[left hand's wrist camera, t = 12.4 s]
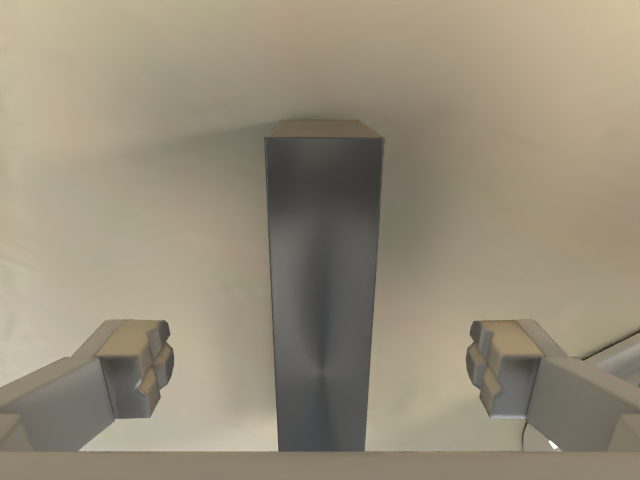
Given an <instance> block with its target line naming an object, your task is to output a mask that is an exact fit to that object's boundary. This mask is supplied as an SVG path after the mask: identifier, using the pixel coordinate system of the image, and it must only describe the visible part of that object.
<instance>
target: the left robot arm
mask: <svg viewBox="0 0 640 480" xmlns="http://www.w3.org/2000/svg"><path fill="white" fill-rule="evenodd" d="M169 336H170V331H169V326H168V323H167V322H166V321H165V320H126V319H120V320H106V321H104V322H103V323H102V324H101V325H100V327H99V328H98V329H97V330H96V331H95V332H94V333H93V334H92V335H91V336H90V337H89V338H88V339H87V340H86V341H85V343H84V344H83V345H82V346H81V347H80V348H79V349H78V350H77V351H76V352H75V353H74V354H73V355H72V356H71V357H64V358H62V359H60V360H58V361H55V362H53V363H51V364H49V365H47V366H45V367H43V368H41V369H39V370H36V371H34V372H32V373H30V374H28V375H26V376H24V377H22V378H20V379H17V380H15V381H13V382H11V383H9V384H7V385H5V386H3V387H1V388H0V480H640V333H638V334H635V335H633V336H631V337H629V338H627V339H625V340H623V341H621V342H619V343H617V344H615V345H613V346H611V347H609V348H607V349H605V350H603V351H601V352H599V353H597V354H595V355H593V356H591V357H589V358H587V359H585V360H583V361H582V360H580V359H578V358H576V357H569V356H568V355H567V354H566V353H565V352H564V351H563V350H562V349H561V348H560V347H559V346H558V345H557V344H556V342H555V341H554V340H553V339H552V338H551V337H550V336H549V335H548V334H547V333H546V332H545V331H544V330H543V329H542V328H541V326H540V325H539V324H538V323H537V322H536V321H534V320H531V319H524V320H496V321H474V322H473V324H472V326H471V330H470V336H471V337H472V339H473V341H474V342H473V343H472V344H471V345H470V346H469V347H468V348H467V355H466V365H467V372H468V375H469V378H470V380H471V382H472V384H473V385H474V386H476V387H477V388H479V389H480V390H481V391H480V397H479V398H480V399H481V401H482V403H483V405H484V407H485V409H486V411H487V413H488V415H489V417H490V418H514V419H525V421H526V422H528V424H527V426H526V428H525V431H524V436H523V450H524V452H77V451H78V450H79V449H81V448H82V447H83V446H84V445H85V444H87V443H88V442H89V441H90V440H92V439H93V438H94V437H95V436H97V435H98V434H99V433H100V432H101V431H103V430H104V429H105V428H106V427H108V426H109V425H110V424H111V423H112V422H114V421H115V419H125V418H150V417H151V415H152V413H153V411H154V409H155V407H156V405H157V403H158V401H159V399H160V398H161V397H160V391H159V390H160V389H161V388H163V387H164V386H166V385H167V384H168V382H169V380H170V378H171V375H172V371H173V366H174V354H173V348H172V347H171V346H170V345H169V344H168V343H167V342H166V341H167V339H168V337H169Z"/></svg>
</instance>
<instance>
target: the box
mask: <svg viewBox="0 0 640 480" xmlns="http://www.w3.org/2000/svg"><path fill="white" fill-rule="evenodd" d="M384 140H385V139H384V137H382V136H381V135H379V134H378V133H376V132H375V131H373V130H372V129H371V128H369V127H368V126H366V125H365V124H363V123H362V122H360V121H359V120H282V121H281V122H280V123H279V124H278V125H277V126H276V127H275V128H274V129H273V130H272V131H271V132H270V133H269V134H268V135H267V136H266V137H265V138H264V142H265V164H266V186H267V208H268V230H269V252H270V274H271V296H272V318H273V340H274V362H275V384H276V406H277V428H278V450H279V452H365V436H366V421H367V405H368V390H369V374H370V358H371V343H372V327H373V312H374V296H375V280H376V265H377V249H378V234H379V218H380V202H381V187H382V171H383V156H384Z"/></svg>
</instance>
